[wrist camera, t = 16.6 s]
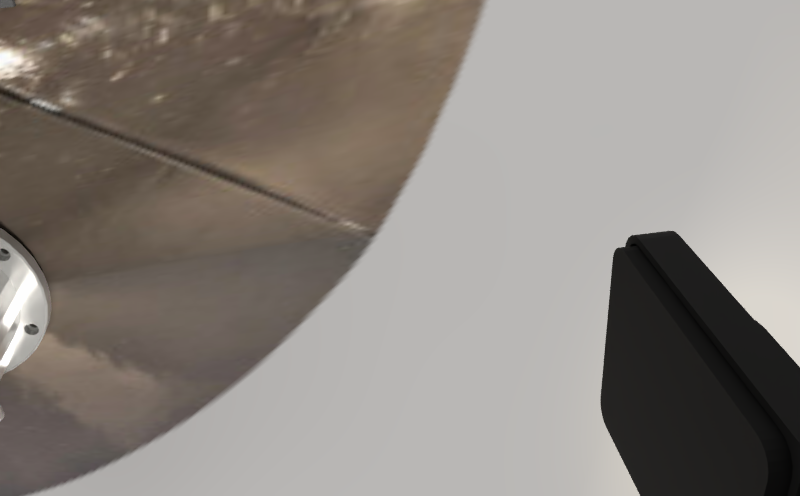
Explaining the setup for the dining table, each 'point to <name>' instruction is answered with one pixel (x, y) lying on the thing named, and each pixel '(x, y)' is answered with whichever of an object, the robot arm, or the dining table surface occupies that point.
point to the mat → (7, 3)
